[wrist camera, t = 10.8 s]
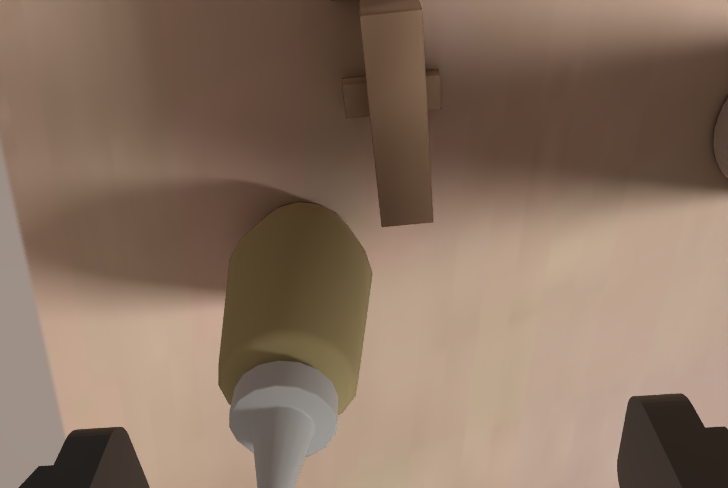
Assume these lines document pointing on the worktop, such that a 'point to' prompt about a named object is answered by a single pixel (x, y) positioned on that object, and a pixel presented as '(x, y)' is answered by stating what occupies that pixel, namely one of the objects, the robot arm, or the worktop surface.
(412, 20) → the screen
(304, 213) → the squeeze bottle
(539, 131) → the worktop surface
